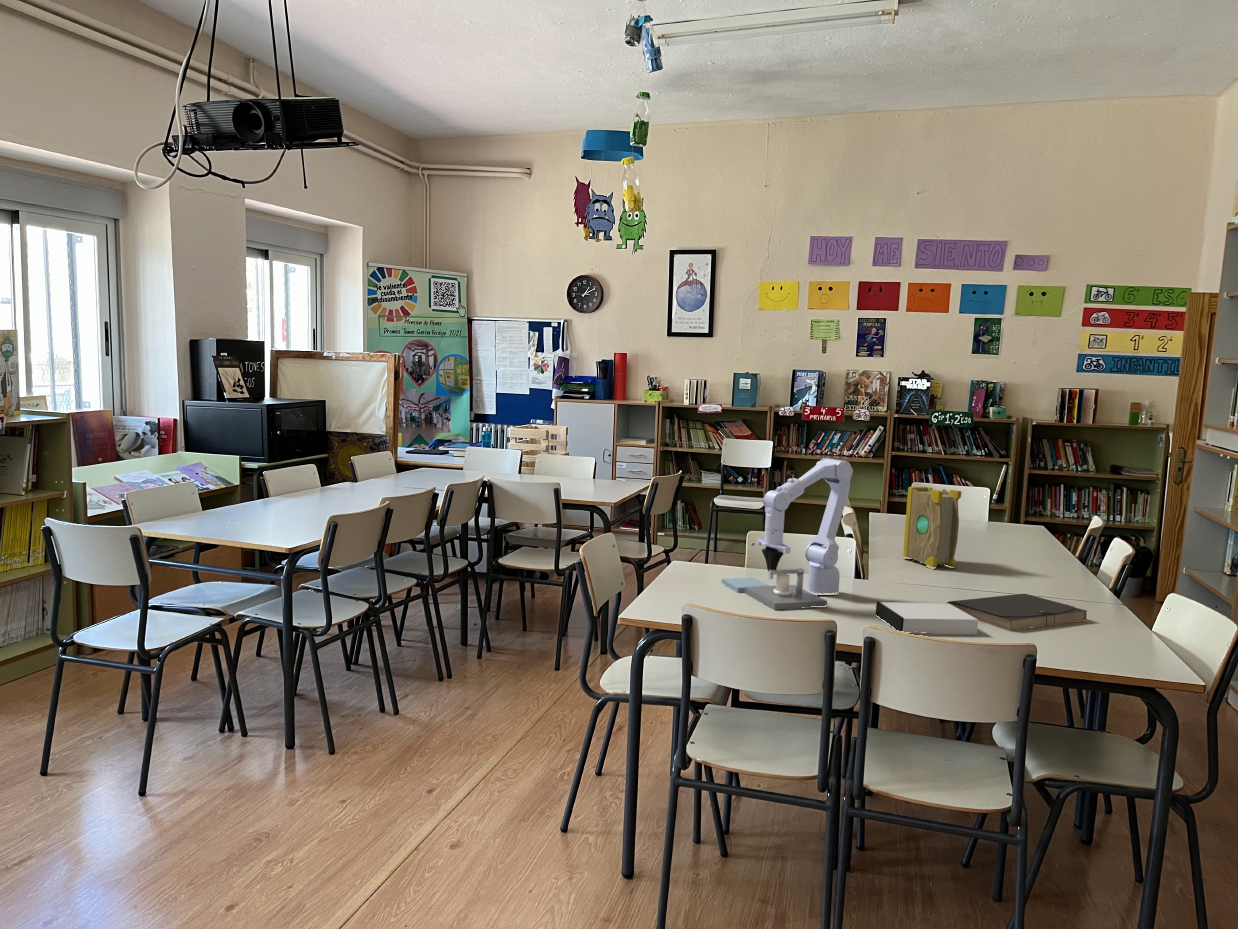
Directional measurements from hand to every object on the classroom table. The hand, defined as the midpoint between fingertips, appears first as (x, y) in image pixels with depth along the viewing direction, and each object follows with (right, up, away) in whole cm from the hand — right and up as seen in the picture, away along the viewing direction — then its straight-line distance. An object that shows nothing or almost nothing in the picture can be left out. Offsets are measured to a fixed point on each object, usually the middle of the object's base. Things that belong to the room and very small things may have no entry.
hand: (771, 571), depth 264 cm
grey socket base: (+4, -9, 0) cm, 10 cm away
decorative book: (+73, -5, +63) cm, 97 cm away
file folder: (+73, -13, -7) cm, 75 cm away
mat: (-6, -7, +14) cm, 17 cm away
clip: (+4, -2, -1) cm, 5 cm away
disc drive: (+40, -13, -21) cm, 47 cm away
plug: (+3, -9, 0) cm, 9 cm away
